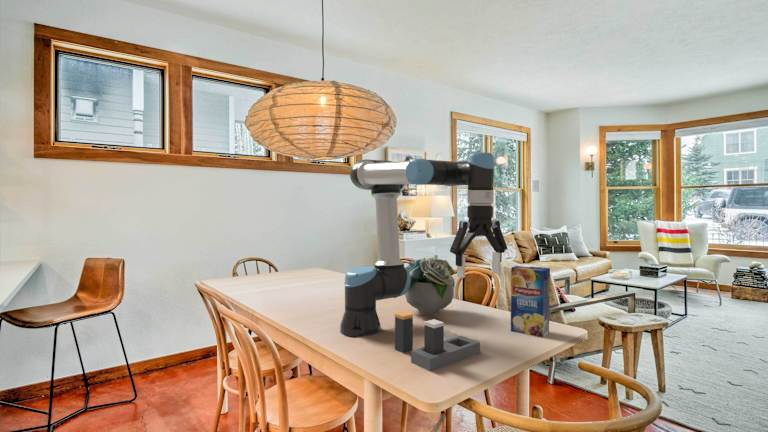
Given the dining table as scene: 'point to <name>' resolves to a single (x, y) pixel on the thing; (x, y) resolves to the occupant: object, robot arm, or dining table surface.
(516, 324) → the juice carton
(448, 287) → the flower arrangement
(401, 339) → the plug
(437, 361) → the grey socket block
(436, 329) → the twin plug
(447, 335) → the hard drive
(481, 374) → the dining table surface
